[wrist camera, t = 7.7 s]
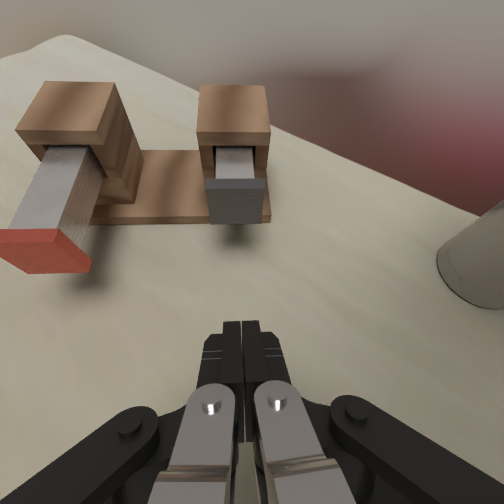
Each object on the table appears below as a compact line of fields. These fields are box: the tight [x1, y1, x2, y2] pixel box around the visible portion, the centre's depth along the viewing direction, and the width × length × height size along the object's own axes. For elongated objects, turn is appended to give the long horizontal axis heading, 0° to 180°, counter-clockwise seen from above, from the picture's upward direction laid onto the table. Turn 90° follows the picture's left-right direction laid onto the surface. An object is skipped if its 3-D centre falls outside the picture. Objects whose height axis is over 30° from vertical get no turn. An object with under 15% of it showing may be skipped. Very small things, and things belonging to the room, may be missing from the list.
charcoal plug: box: [205, 145, 265, 224], centre depth 28 cm, size 5×15×5 cm, turn 3°
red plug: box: [0, 145, 105, 274], centre depth 25 cm, size 5×15×5 cm, turn 3°
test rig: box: [15, 81, 271, 225], centre depth 31 cm, size 25×12×12 cm, turn 93°
